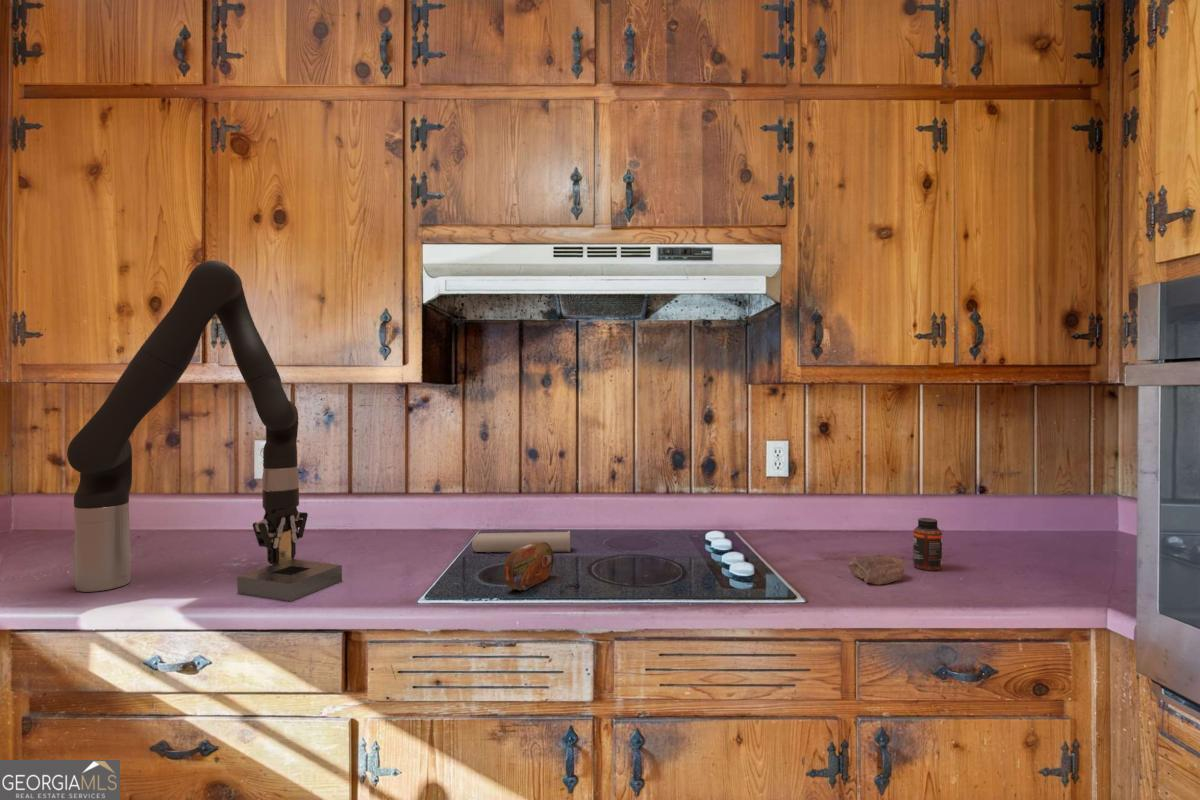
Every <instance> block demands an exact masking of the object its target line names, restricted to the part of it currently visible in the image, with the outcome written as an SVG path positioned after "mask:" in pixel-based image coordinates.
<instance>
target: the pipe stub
mask: <svg viewBox="0 0 1200 800" xmlns="http://www.w3.org/2000/svg"><path fill="white" fill-rule="evenodd" d="M275 533H276V532H272V534H275ZM272 542H273V538H272ZM277 548H278V551H279V563H281V562H284V561H287V560H290V559H292V553H291V530H284V531H283V532H282V536H281V537H280V538H279V542H278V547H277ZM271 565H273V564H271Z"/></svg>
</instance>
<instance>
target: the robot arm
mask: <svg viewBox="0 0 1200 800" xmlns="http://www.w3.org/2000/svg"><path fill="white" fill-rule="evenodd" d="M214 316H216V317H217V319H218V320H219V322H220V324H221V326H222V328H223V330H224V333H225V335H226V337H227V340H228V343H229V346H230V349H231V351H232V355H233V358H234V360H235V363H236V366H237V369H238V371H239V372H240V374H241V377H242V379H243V381H244V383H245V384H246V386H247V388H248V390H249V392H250V394H251V397H252V401H253V404H254V407H255V409H256V412H257V415H258V417H259V419H260V421H261V422H262V424H263V425H264V426H265V443H264V445H263V451H262V454H263V455H262V458H263V459H262V460H263V461H262V465H263V466H262V467H263V469H262V470H263V471H262V477H261V478H262V480H261V483H262V486H261V487H262V488H261V489H262V491H261V492H262V493H261V494H262V496H261V497H262V499H261V500H262V508H263V510H264V515H263V518H262V519H261V520H260V521H259V522H256V521H255V522H253V524H252V528H253V531H254V535H255V538H256V541H257V543H258V546H259V547H264V548H266V549H267V551H266V552H267V557H266V558H267V562H268V563H269V565H272V564H273V565H274V564H278V563H279V551H278V548H277V547H278V542H279V538H280V537H281V536H282V532H283V531H284V530H291V553H292V559H295V557H296V554H297V551H296V549H297V547H296V544H297V542H298V540H299V539H302V538H303V537H304V533H305V528H306V524H307V519H308V515H309V514H308V512H305V511H304V512H303V511H302V512H301V511H299V510H298V508H297V507H299V505H300V477H299V475H300V474H299V469H298V446H297V445H298V444H297V442H298V431H299V412H298V411H299V410H298V408H297V406H296V405H295V403H293V402H291V401H290V400H289V398H288V396H287V394H286V392H285V390H284V388H283V385H282V379H281V376H280V373H279V371H278V369H277V367H276V364H275V363H274V360H273V358H272V356H271V354H270V352H269V351H268V349H267V347H266V344H265V343H264V340H263V338H262V336H261V335H260V333H259V330H258V329H257V327H256V325H255V322H254V320H253V317H252V315H251V312H250V309H249V306H248V302H247V299H246V296H245V291H244V287H243V281H242V279H241V277H240V275H239V274H238V273H237V271H235V270H234V269H233V268H232V267H230V266H229V265H228V264H227V263H225V262H223V261H219V260H206V261H203V262H202V263H201V262H200V263H199V264H198V265H197V266H195V267H194V268H193V269H192V271H191V272H190V274H189V276H188V277H187V280H186V281H185V283H184V284H183V286H182V288H181V291H180V292H179V294H178V295H177V298H176V299H175V301H174V302H173V305H172V306H171V308H170V309H169V311H168V312H167V313H166V314H165V316H163V318H162V319H161V321H160V322H159V323H158V324H157V326H156V327H155V328H154V329H153V330H152V332H151V333H150V335H148V337H147V339H146V340H145V341H144V343H143V344H142V345H141V346H140V347H139V349H138V350H137V352H136V353H135V354H134V356H133V357H132V359H131V360H130V362H129V363H128V365H127V367H126V368H125V370H124V371H123V372H122V374H121V376H120V377H119V379H118V380H117V382H116V383H115V385H114V386H113V388H112V389H111V391H110V392H109V395H108V396H107V397H106V399H105V401H104V403H103V404H102V405H101V407H100V408H98V410H97V411H96V412H95V413H94V415H92V417H91V418H90V419H89V420H88V422H86V424H85V425H84V426H83V427H82V428H81V429H80V430H79V432H77V434H76V435H75V436H74V437H73V438H72V439H71V440H70V442H69V444H68V447H67V452H66V458H67V461H68V463H69V465H70V466H71V468H72V469H74V471H76V472H78V473H79V483H78V486H77V489H76V490H75V493H74V495H73V513H74V514H73V515H74V517H73V518H74V541H73V543H72V559H73V561H72V563H73V564H72V565H73V587H75V590H76V591H77V592H84V593H85V592H86V593H87V592H88V593H89V592H91V593H92V592H101V591H107V590H113V589H118V588H120V587H123V586H125V585H128V584H129V583H131V540H130V539H131V535H130V532H131V531H130V530H131V529H130V493H131V488H132V481H133V449H132V444H131V441H130V439H129V438H130V437H131V436H132V434H133V432H134V431H135V429H136V428H137V426H138V425H139V423H140V422H141V421H142V420H143V419H144V417H145V416H146V415H148V414H149V413H150V411H152V410H153V409H154V408H155V407H156V406H157V405H158V404H159V403H160V402H161V401H162V400H163V399H164V398H166V396H167V395H168V394H169V393H170V392H171V391H172V390H173V389H174V387H175V386H176V385H177V383H178V381H179V380H180V379H181V377H182V376H183V375H184V373H185V371H186V370H187V369H188V367H189V365H190V363H191V361H192V359H193V357H194V355H195V353H196V350H197V347H198V345H199V342H200V340H201V337H202V336H203V335H202V334H203V332H204V331H205V329H206V327H207V325H208V324H209V323H210V321H211V320H212V319H213V318H214ZM272 532H276V533H275V534H272ZM272 538H273V542H272Z"/></svg>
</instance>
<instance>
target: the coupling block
mask: <svg viewBox="0 0 1200 800" xmlns="http://www.w3.org/2000/svg"><path fill="white" fill-rule="evenodd" d="M236 579H237V582H236V583H237V588H236V589H237V594H239V595H244V596H252V597H259V598H266V599H271V600H278V601H286V602H293V601H295V600H298V599H300V598H302V597H306V596H308V595H311V594H313V593H316V592H318V591H321V590H323V589H326V588H329V587H331V586H333V585H336V584H338V583H341V582H343V565H342V564H337V563H336V564H335V563H329V562H320V561H310V560H305V559H295V558H294V559H290V560H287V561H284V562H281V563H278V564H274V565H272V564H270V565H269V566H265V567H263V568H259V569H256V570H253V571H250V572H247V573H244V574H240V575H237V576H236Z"/></svg>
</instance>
